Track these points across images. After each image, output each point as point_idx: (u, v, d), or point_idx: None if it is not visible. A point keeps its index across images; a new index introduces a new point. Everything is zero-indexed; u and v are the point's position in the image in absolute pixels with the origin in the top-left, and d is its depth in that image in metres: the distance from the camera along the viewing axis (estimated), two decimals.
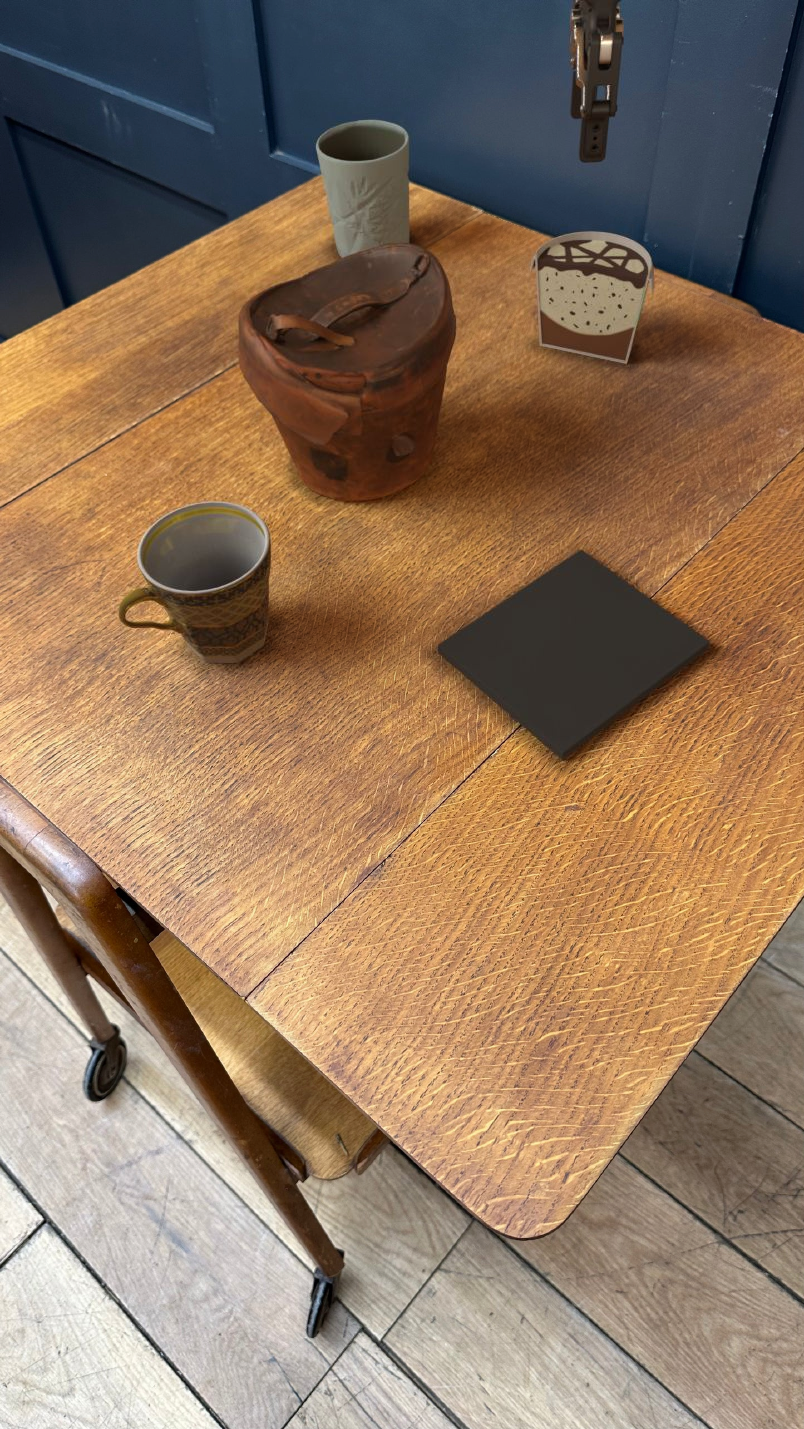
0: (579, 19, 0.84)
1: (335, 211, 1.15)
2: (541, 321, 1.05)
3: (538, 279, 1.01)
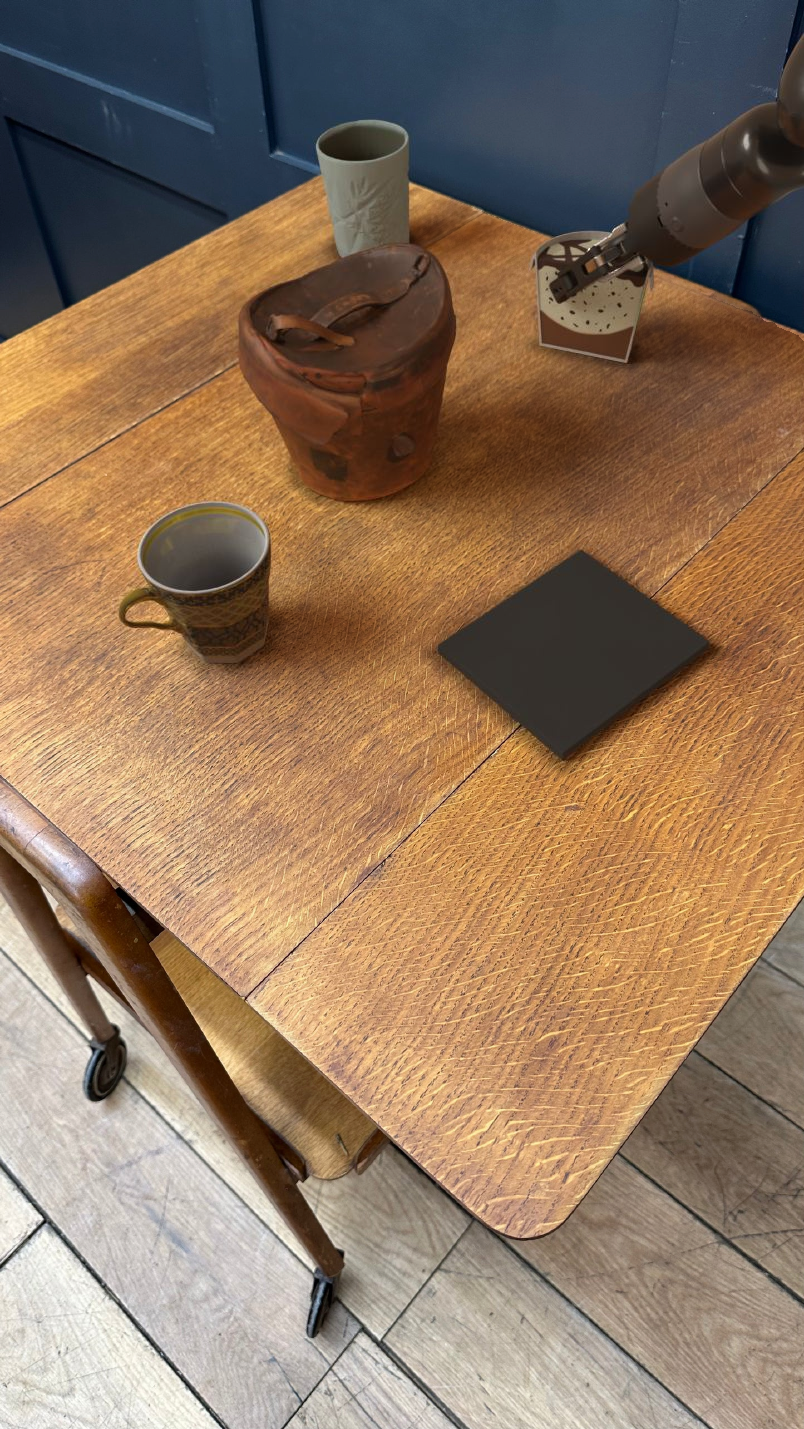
0: None
1: (335, 211, 1.15)
2: (541, 321, 1.05)
3: (538, 278, 1.02)
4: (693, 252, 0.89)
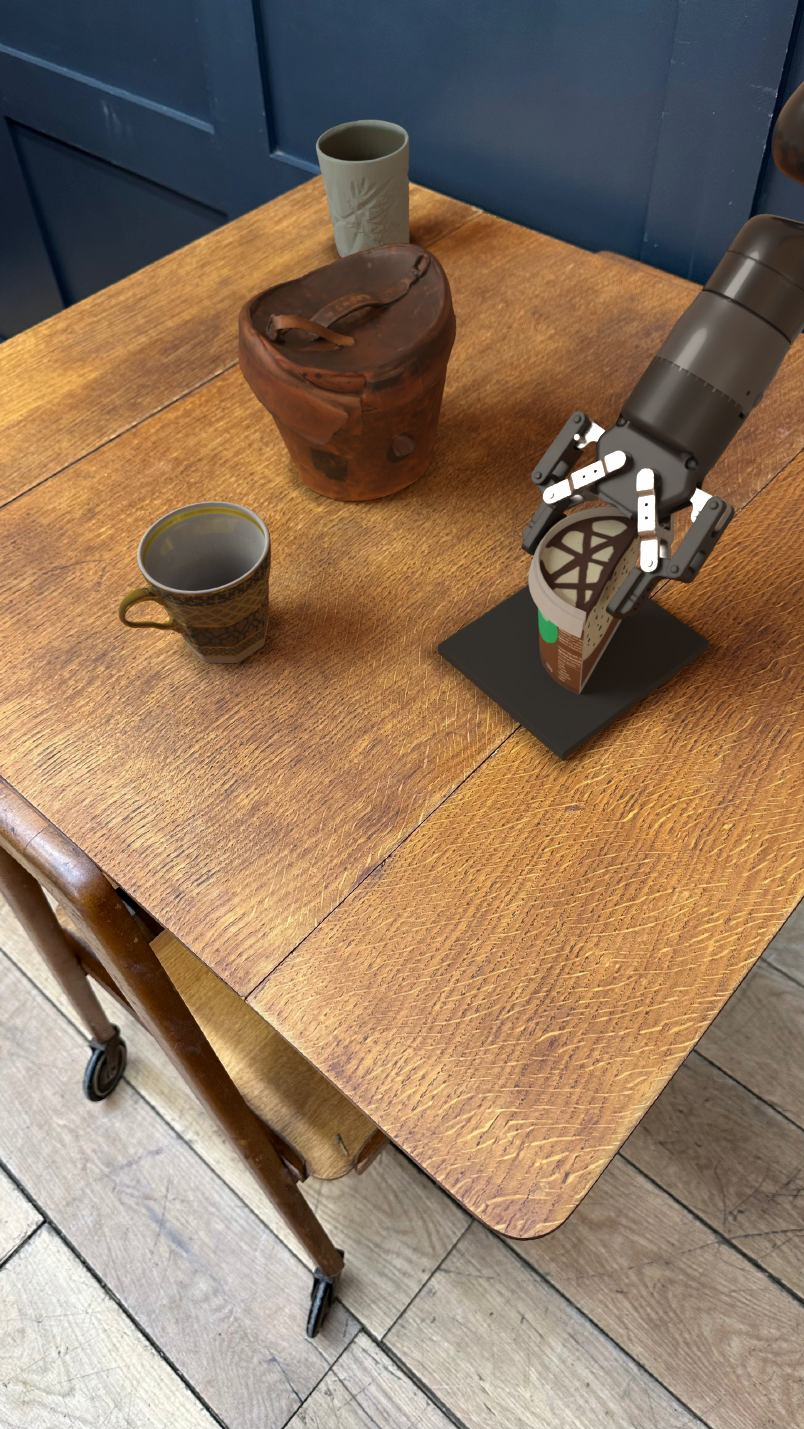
0: None
1: (335, 211, 1.15)
2: (581, 671, 0.76)
3: (582, 636, 0.72)
4: None
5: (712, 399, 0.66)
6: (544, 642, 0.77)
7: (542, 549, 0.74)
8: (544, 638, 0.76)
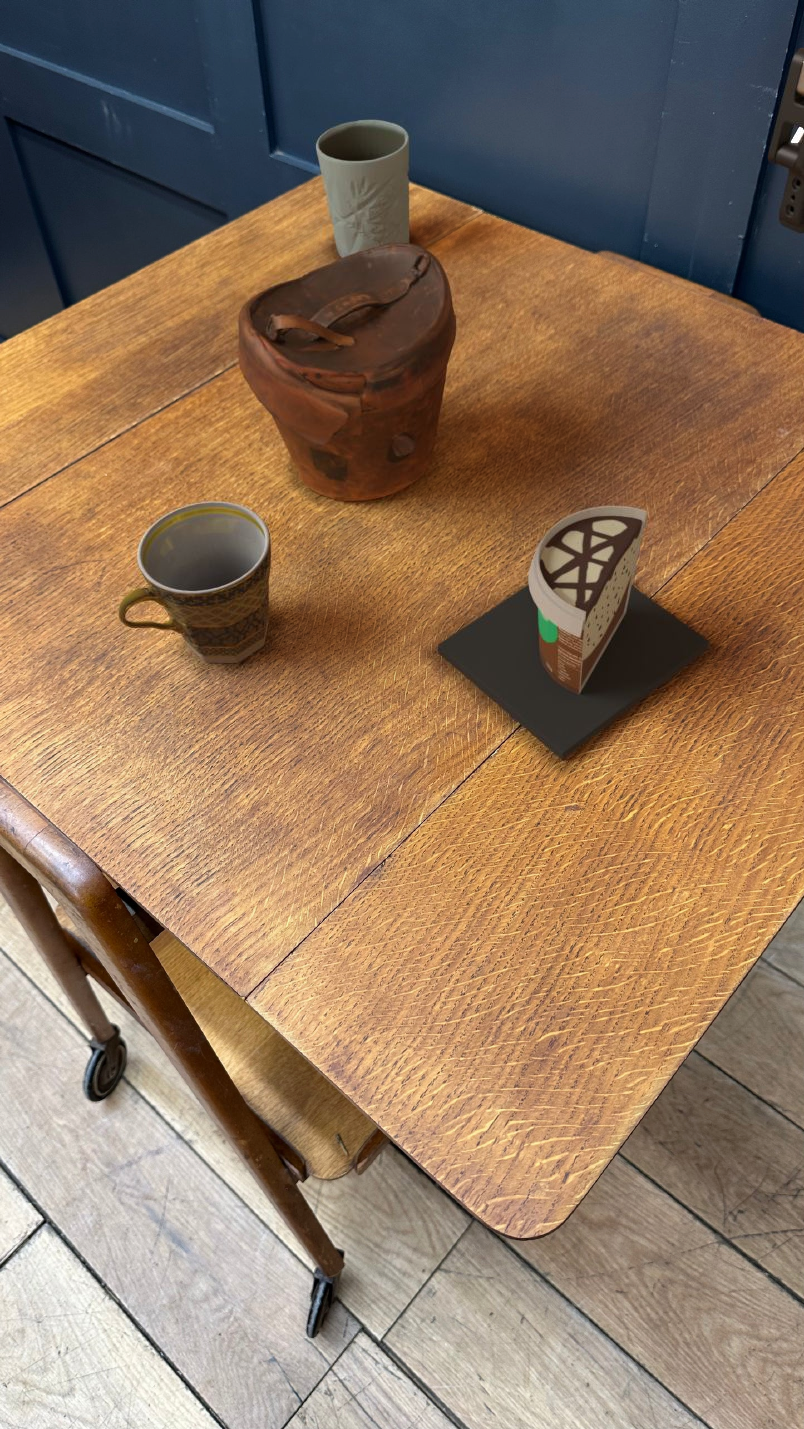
0: None
1: (335, 211, 1.15)
2: (581, 671, 0.76)
3: (582, 636, 0.72)
4: None
5: None
6: (544, 642, 0.77)
7: (542, 549, 0.74)
8: (544, 638, 0.76)
